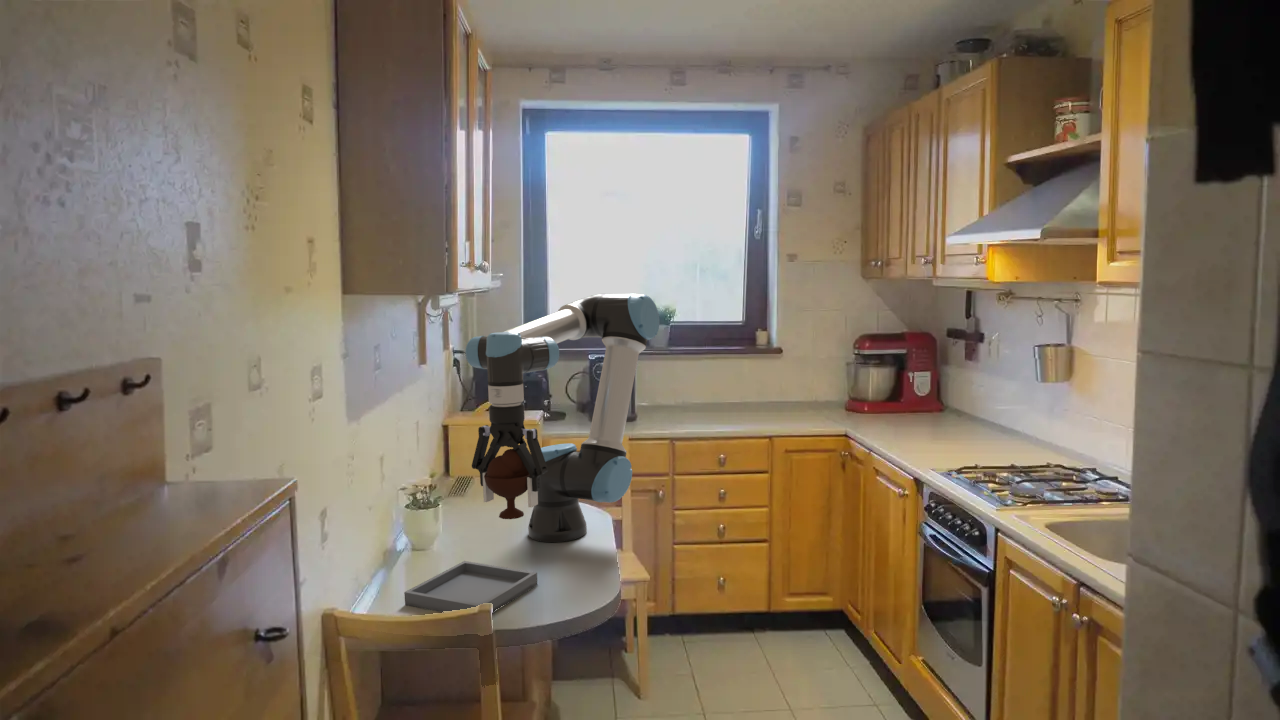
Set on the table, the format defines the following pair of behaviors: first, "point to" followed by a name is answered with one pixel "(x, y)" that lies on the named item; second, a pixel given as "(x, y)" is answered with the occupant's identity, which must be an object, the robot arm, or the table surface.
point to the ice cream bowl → (508, 481)
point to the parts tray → (470, 587)
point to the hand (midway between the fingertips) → (510, 503)
